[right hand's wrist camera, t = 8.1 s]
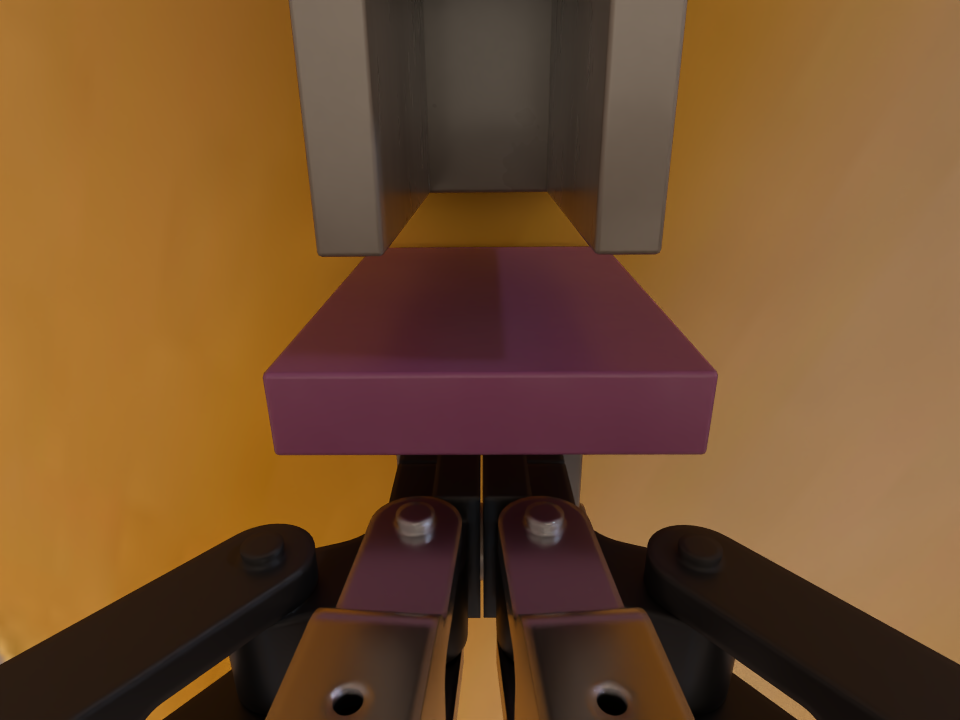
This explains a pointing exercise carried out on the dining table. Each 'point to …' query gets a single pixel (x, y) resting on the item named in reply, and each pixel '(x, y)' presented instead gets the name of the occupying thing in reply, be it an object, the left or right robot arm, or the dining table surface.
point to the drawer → (489, 270)
